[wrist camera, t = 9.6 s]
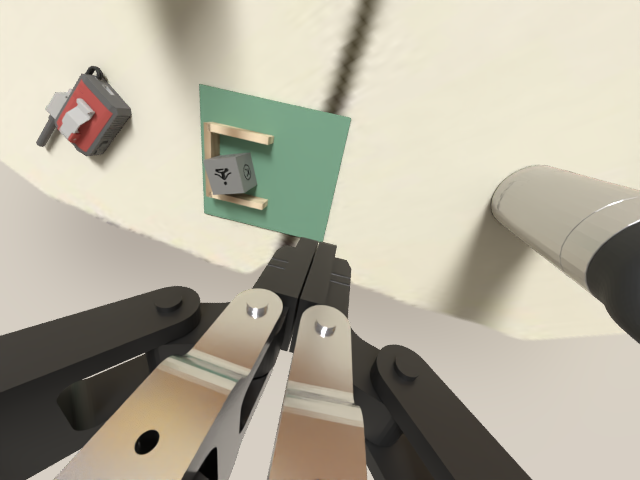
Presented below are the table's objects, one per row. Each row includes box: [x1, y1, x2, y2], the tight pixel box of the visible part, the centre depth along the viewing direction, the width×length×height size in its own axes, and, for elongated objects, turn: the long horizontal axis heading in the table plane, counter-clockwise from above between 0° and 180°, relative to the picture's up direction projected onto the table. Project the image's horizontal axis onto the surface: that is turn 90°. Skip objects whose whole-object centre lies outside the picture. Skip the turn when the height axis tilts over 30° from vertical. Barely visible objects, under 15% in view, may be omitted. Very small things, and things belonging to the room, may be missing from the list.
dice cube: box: [203, 152, 257, 195], centre depth 37 cm, size 5×5×5 cm
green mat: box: [199, 84, 351, 242], centre depth 38 cm, size 22×20×1 cm
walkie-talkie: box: [36, 66, 132, 156], centre depth 38 cm, size 9×4×20 cm
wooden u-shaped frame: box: [204, 122, 274, 210], centre depth 37 cm, size 10×11×2 cm
